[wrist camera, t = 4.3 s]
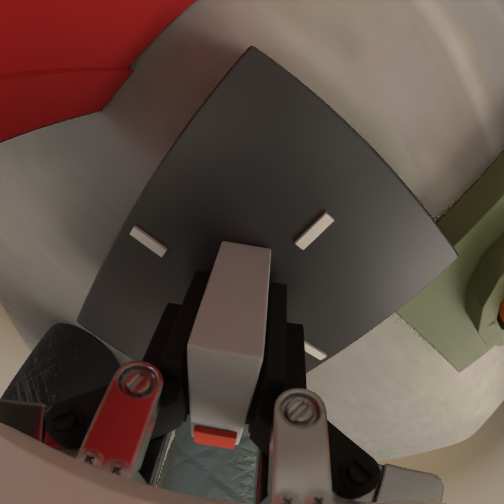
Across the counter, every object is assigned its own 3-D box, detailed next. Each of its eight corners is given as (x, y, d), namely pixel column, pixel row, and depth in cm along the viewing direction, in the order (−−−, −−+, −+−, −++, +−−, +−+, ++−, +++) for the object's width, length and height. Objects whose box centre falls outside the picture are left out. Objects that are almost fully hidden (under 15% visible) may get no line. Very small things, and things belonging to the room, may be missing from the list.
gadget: (260, 58, 10) (250, 43, 7) (422, 213, 13) (462, 259, 9) (108, 276, 16) (73, 324, 13) (242, 361, 19) (234, 415, 15)
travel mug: (42, 346, 22) (-43, 517, 5) (53, 304, 18) (-66, 527, 1) (109, 392, 24) (46, 570, 7) (137, 362, 20) (58, 600, 3)
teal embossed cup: (302, 415, 22) (298, 549, 12) (257, 452, 27) (247, 549, 17) (182, 384, 21) (143, 528, 11) (165, 428, 26) (138, 528, 16)
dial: (222, 239, 10) (183, 353, 6) (271, 247, 10) (262, 368, 6) (213, 343, 12) (189, 443, 8) (250, 349, 12) (237, 452, 8)
